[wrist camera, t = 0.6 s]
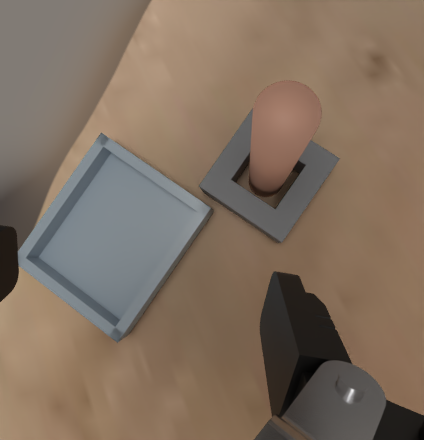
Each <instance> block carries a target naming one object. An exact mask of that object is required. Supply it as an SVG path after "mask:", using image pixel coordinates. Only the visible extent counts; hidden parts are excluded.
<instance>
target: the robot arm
mask: <svg viewBox="0 0 424 440" xmlns="http://www.w3.org/2000/svg"><path fill="white" fill-rule="evenodd" d="M18 274H19V268H18V247H17V233H16V230H15V229H14V228H13V227H9V226H3V225H0V302H1V301H2V300H3V299H4V298H5V297H6V296H7V295H8V294H9V293H10V292H11V291H12V290H13V289H14V287H15V285H16V283H17V280H18ZM330 318H331V317H330V315H329V313H328V310H327V308H326V306H325V305H324V304H323V303H322V302H321V301H320V300H319V299H318V298H317V297H316V296H315V295H314V294H311V293H306V292H305V290H304V287H303V285H302V282H301V280H300V277H299V276H298V275H293V274H287V273H281V272H274V273H273V274H272V277H271V280H270V284H269V287H268V291H267V295H266V299H265V302H264V306H263V310H262V314H261V320H260V336H261V343H262V350H263V357H264V364H265V371H266V378H267V385H268V392H269V399H270V406H271V413H272V418H271V419H270V420H269V421H268V422H267V424H266V425H265V426H264V428H263V429H262V430H261V431H260V433H259V434H258V435H257V436H256V438H255V439H254V440H424V416H423V415H421V414H418V413H416V412H414V411H411V410H409V409H406V408H404V407H401V406H399V405H397V404H394V403H392V402H390V401H388V400H386V397H385V394H384V392H383V390H382V388H381V387H380V385H379V384H378V383H377V382H376V380H375V379H374V378H373V377H372V376H370V375H369V374H368V373H367V372H365V371H364V370H362V369H361V368H359V367H357V366H355V365H353V364H352V362H351V360H350V358H349V356H348V354H347V352H346V349H345V347H344V345H343V343H342V341H341V339H340V336H339V334H338V332H337V330H335V326H334V323H333V321H332V320H331V319H330Z"/></svg>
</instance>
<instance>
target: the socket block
mask: <svg viewBox="0 0 424 440" xmlns="http://www.w3.org/2000/svg"><path fill="white" fill-rule="evenodd" d="M252 114H253V109H252V110H251V112H250V113H249V114H248V116H247V117H246V119H245V120H244V122H243V123H242V124H241V126H240V127H239V129H238V130H237V132H236V133H235V135H234V136H233V137H232V139H231V140H230V142H229V143H228V145H227V146H226V148H225V149H224V150H223V152H222V153H221V155H220V156H219V158H218V159H217V161H216V162H215V163H214V165H213V166H212V168H211V169H210V171H209V172H208V173H207V175H206V176H205V178H204V179H203V181H202V182H201V184H200V185H199V187H200V188H201V190H202V191H203V192H204V193H205V194H207V195H208V196H210V197H211V198H213V199H214V200H216V201H217V202H219V203H220V204H222V205H223V206H225V207H226V208H227V209H229V210H230V211H232V212H233V213H235V214H236V215H238V216H239V217H241V218H242V219H244V220H245V221H247V222H248V223H250V224H251V225H252V226H254V227H255V228H257V229H258V230H260V231H261V232H263V233H264V234H266V235H267V236H269V237H270V238H272V239H273V240H274V241H276V242H277V243H282V242H283V240H284V239H285V237H286V236H287V234H288V233H289V232H290V230H291V229H292V227H293V226H294V224H295V223H296V221H297V220H298V218H299V217H300V216H301V214H302V213H303V211H304V210H305V208H306V207H307V205H308V204H309V203H310V201H311V200H312V198H313V197H314V195H315V194H316V192H317V191H318V189H319V188H320V187H321V185H322V184H323V182H324V181H325V179H326V178H327V176H328V175H329V173H330V172H331V171H332V169H333V168H334V166H335V165H336V163H337V162H338V160H339V159H340V158H338V157H337V156H335V155H334V154H332V153H330V152H329V151H327V150H326V149H324V148H322V147H321V146H319V145H318V144H316V143H314V142H313V141H311V140H310V142H309V143H308V145H307V147H306V148H305V150H304V151H303V153H302V155H301V156H300V158H299V160H298V161H297V163H296V164H295V166H294V168H293V170H295V171H297V172H298V173H300V174H299V175H298V177H297V178H296V180H295V181H294V183H293V184H292V185H291V187H290V188H289V190H288V191H287V193H286V194H285V196H284V197H283V198H282V200H281V201H280V203H279V204H278V206H277V207H276V209H274V208H273V207H271V206H270V205H268V204H267V203H265V202H264V201H262V200H261V199H259V198H258V197H256V196H255V195H253V194H252V193H250V192H249V191H247V190H246V189H244V188H243V187H241V186H240V185H238V184H237V183H235V182H236V181H237V179H238V178H239V176H240V175H241V173H242V172H243V170H244V169H245V168H246V166H247V165H248V163H249V162H250V148H251V131H252Z"/></svg>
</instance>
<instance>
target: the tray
mask: <svg viewBox="0 0 424 440" xmlns="http://www.w3.org/2000/svg"><path fill="white" fill-rule="evenodd" d="M213 212H214V211H213V210H212V208H210V207H209V206H208V205H206V204H205V203H203V202H202V201H200V200H199V199H197V198H196V197H194V196H193V195H191V194H190V193H189V192H187V191H186V190H184V189H183V188H181V187H180V186H178V185H177V184H175V183H174V182H173V181H171V180H170V179H168V178H167V177H165V176H164V175H162V174H161V173H159V172H158V171H156V170H155V169H154V168H152V167H151V166H149V165H148V164H146V163H145V162H143V161H142V160H140V159H139V158H138V157H136V156H135V155H133V154H132V153H130V152H129V151H127V150H126V149H124V148H123V147H121V146H120V145H119V144H117V143H116V142H114V141H113V140H111V139H110V138H108V137H107V136H105V135H104V134H103V133H101V134H100V135H99V137H98V138H97V139H96V141H95V142H94V144H93V145H92V147H91V148H90V149H89V151H88V152H87V154H86V155H85V157H84V158H83V160H82V161H81V162H80V164H79V165H78V167H77V168H76V170H75V171H74V172H73V174H72V175H71V177H70V178H69V180H68V181H67V182H66V184H65V185H64V187H63V188H62V190H61V191H60V192H59V194H58V195H57V197H56V198H55V200H54V201H53V202H52V204H51V205H50V207H49V208H48V210H47V211H46V212H45V214H44V215H43V217H42V218H41V220H40V221H39V222H38V224H37V225H36V227H35V228H34V230H33V231H32V232H31V234H30V235H29V237H28V238H27V240H26V241H25V243H24V244H23V245H22V247H21V248H20V250H19V251H18V265H19V266H20V267H21V268H22V269H24V270H25V271H26V272H27V273H29V274H30V275H31V276H33V277H34V278H35V279H36V280H38V281H39V282H40V283H42V284H43V285H44V286H45V287H47V288H48V289H49V290H51V291H52V292H53V293H54V294H56V295H57V296H58V297H60V298H61V299H62V300H63V301H65V302H66V303H67V304H69V305H70V306H71V307H72V308H74V309H75V310H76V311H78V312H79V313H80V314H81V315H83V316H84V317H85V318H87V319H88V320H89V321H90V322H92V323H93V324H94V325H96V326H97V327H98V328H99V329H101V330H102V331H103V332H105V333H106V334H107V335H108V336H110V337H111V338H112V339H113V340H115V341H116V342H117V343H118V342H119V341H121V340H122V339H123V338H124V337H126V336H127V335H128V334H129V333H130V332H131V330H132V329H133V327H134V326H135V325H136V323H137V322H138V320H139V319H140V317H141V316H142V314H143V313H144V312H145V310H146V309H147V307H148V306H149V304H150V303H151V301H152V300H153V299H154V297H155V296H156V294H157V293H158V291H159V290H160V288H161V287H162V286H163V284H164V283H165V281H166V280H167V278H168V277H169V276H170V274H171V273H172V271H173V270H174V268H175V267H176V265H177V264H178V263H179V261H180V260H181V258H182V257H183V255H184V254H185V252H186V251H187V250H188V248H189V247H190V245H191V244H192V242H193V241H194V239H195V238H196V237H197V235H198V234H199V232H200V231H201V229H202V228H203V226H204V225H205V224H206V222H207V221H208V219H209V218H210V216H211V215H212V213H213Z"/></svg>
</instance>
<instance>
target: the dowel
mask: <svg viewBox="0 0 424 440" xmlns="http://www.w3.org/2000/svg"><path fill="white" fill-rule="evenodd" d="M321 116H322V110H321V104H320V101H319V99H318V97H317V96H316V94H315V93H314V92H313V91H312V90H311V89H310V88H309V87H307V86H306V85H304V84H302V83H299V82H296V81H280V82H276V83H274V84H271V85H270V86H268V87H267V88H265V89H264V90H263V91H262V92H261V93H260V94H259V96H258V97H257V99H256V101H255V103H254V107H253V114H252V131H251V148H250V165H249V186H250V188H251V190H252V191H253V192H254V193H255V194H257V195H259V196H262V197H270V196H273V195H275V194H276V193H277V192H278V191H279V190H280V189H281V187H282V186H283V184H284V182H285V181H286V179H287V177H288V176H289V174H290V173H291V171H292V169H293V168H294V166H295V164H296V163H297V161H298V160H299V158H300V156H301V155H302V153H303V151H304V150H305V148H306V147H307V145H308V143H309V142H310V140H311V139H312V137H313V135H314V134H315V132H316V130H317V129H318V127H319V124H320V121H321Z"/></svg>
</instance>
